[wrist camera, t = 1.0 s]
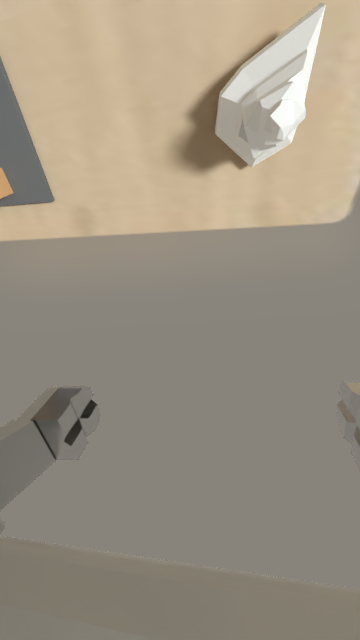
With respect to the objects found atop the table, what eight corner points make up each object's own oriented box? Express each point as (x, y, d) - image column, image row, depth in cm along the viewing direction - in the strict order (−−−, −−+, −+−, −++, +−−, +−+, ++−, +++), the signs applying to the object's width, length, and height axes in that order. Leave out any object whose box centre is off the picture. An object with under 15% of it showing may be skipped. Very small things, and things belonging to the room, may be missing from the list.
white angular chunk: (320, 117, 38) (357, 158, 30) (227, 166, 44) (237, 211, 36) (314, 0, 29) (364, 14, 21) (198, 81, 35) (202, 117, 27)
